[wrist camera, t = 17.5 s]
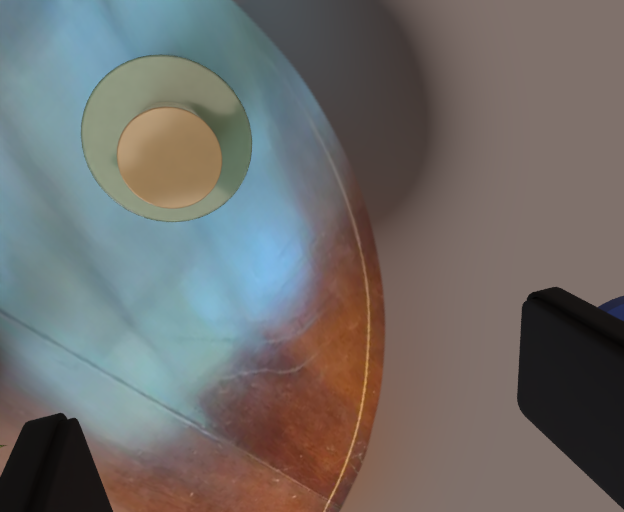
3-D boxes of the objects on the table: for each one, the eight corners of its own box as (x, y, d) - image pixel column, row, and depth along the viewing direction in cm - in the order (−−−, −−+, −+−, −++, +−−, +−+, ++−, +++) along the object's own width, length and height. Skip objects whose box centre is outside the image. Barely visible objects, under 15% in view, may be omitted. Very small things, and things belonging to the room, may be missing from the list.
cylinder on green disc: (269, 95, 25) (302, 99, 19) (219, 234, 27) (234, 279, 21) (110, 26, 22) (88, 4, 16) (66, 187, 24) (30, 223, 18)
